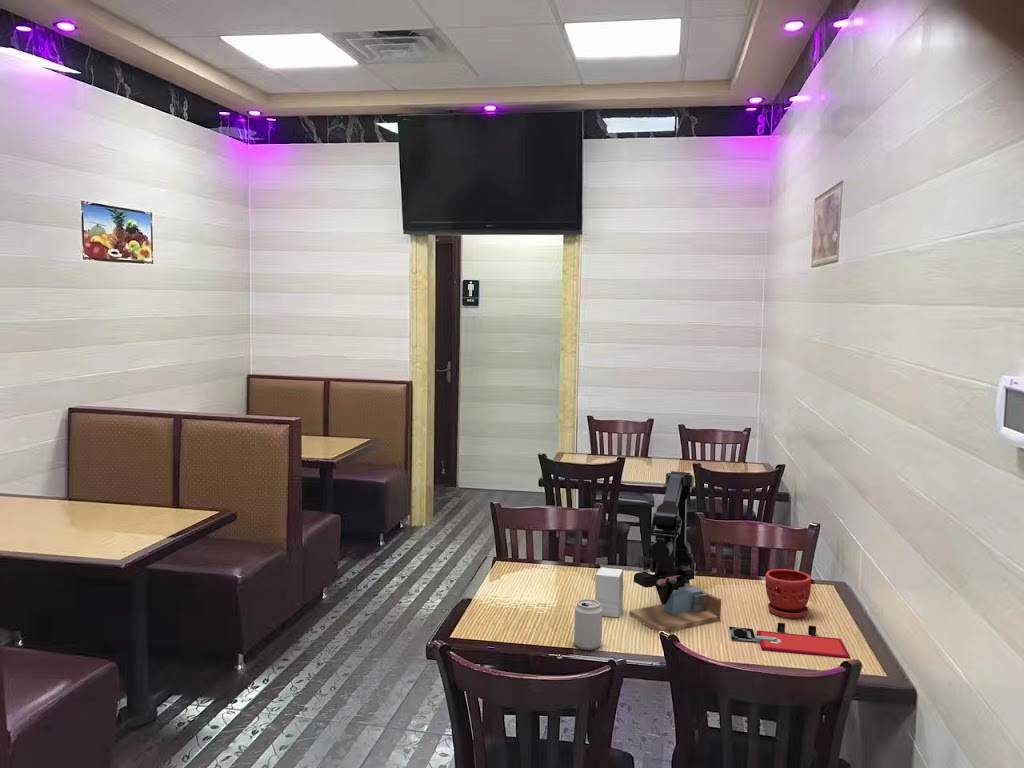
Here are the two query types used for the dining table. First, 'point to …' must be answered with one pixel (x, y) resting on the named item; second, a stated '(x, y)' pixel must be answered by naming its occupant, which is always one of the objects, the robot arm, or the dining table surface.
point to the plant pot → (788, 592)
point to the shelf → (681, 614)
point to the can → (588, 624)
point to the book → (681, 600)
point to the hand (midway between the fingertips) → (663, 604)
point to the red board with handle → (793, 642)
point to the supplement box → (609, 591)
